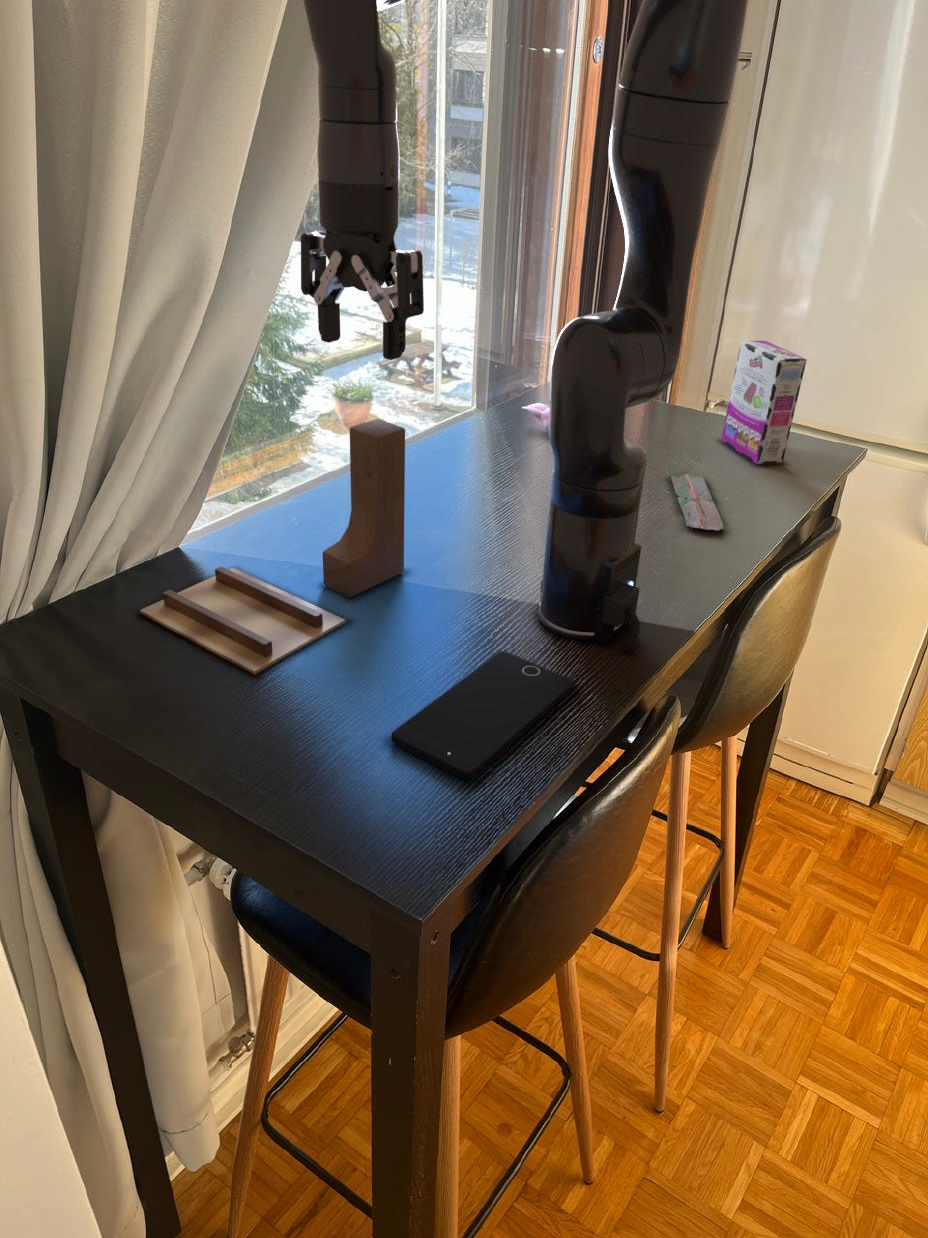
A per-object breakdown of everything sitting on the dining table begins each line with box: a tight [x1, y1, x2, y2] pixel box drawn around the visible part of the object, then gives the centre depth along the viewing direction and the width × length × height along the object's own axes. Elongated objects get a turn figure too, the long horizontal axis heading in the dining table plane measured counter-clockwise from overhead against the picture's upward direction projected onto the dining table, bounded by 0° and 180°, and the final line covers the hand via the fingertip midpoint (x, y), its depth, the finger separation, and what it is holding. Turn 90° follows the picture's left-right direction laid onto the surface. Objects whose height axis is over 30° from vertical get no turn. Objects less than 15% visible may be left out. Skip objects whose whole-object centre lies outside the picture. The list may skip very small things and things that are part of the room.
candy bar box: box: [721, 340, 808, 466], centre depth 147 cm, size 11×5×16 cm, turn 17°
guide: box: [139, 565, 346, 675], centre depth 102 cm, size 18×13×2 cm
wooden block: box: [322, 418, 406, 598], centre depth 106 cm, size 9×4×18 cm, turn 139°
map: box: [670, 472, 724, 531], centre depth 133 cm, size 5×20×1 cm, turn 176°
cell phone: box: [391, 650, 576, 781], centre depth 89 cm, size 9×18×1 cm, turn 144°
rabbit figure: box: [521, 402, 550, 433], centre depth 153 cm, size 6×6×15 cm
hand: (361, 349), depth 97 cm, fingers open, 8 cm apart
